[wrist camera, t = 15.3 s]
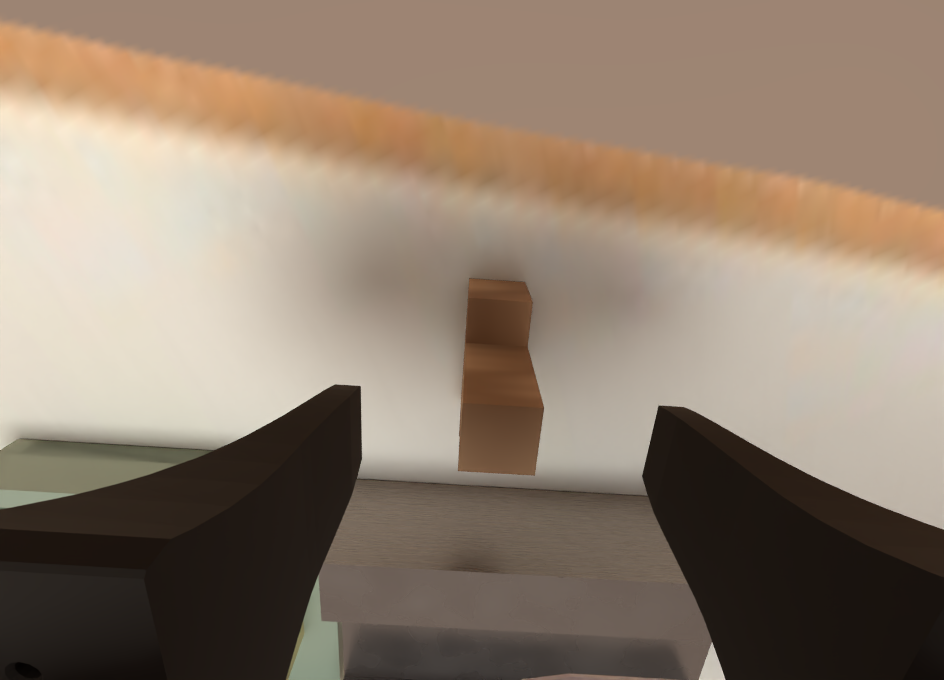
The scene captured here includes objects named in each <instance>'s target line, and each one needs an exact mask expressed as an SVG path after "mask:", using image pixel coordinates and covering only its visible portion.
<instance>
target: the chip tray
mask: <svg viewBox="0 0 944 680" xmlns="http://www.w3.org/2000/svg"><path fill="white" fill-rule="evenodd" d="M210 452H212V451H210V450H194V449H177V448H160V447H144V446H127V445H110V444H94V443H77V442H61V441H44V440H27V439H17V440H16V441H14V442H13V443H11V444H10V445H8V446H6V447H5V448H3V449H2V450H0V509H6V508H11V507H16V506H21V505H26V504H31V503H36V502H41V501H46V500H51V499H56V498H61V497H66V496H71V495H75V494H79V493H83V492H88V491H91V490H95V489H99V488H103V487H107V486H111V485H115V484H118V483H122V482H125V481H129V480H132V479H136V478H139V477H143V476H146V475H149V474H152V473H155V472H158V471H161V470H163V469H166V468H169V467H172V466H175V465H178V464H181V463H183V462H186V461H189V460H192V459H195V458H197V457H200V456H202V455H205V454H207V453H210ZM303 622H304V636H303V639H302V642H301V645H300V647H299V650H298V653H297V656H296V659H295V662H294V664H293V667H292V670H291V673H290V676H289V679H288V680H343V679H344V659H343V635H342V622H329V621H321V607H320V591H319V575H318V578H317V580H316V583H315V586H314V588H313V591H312V594H311V597H310V600H309V603H308V607H307V610H306V613H305V616H304V620H303Z"/></svg>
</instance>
